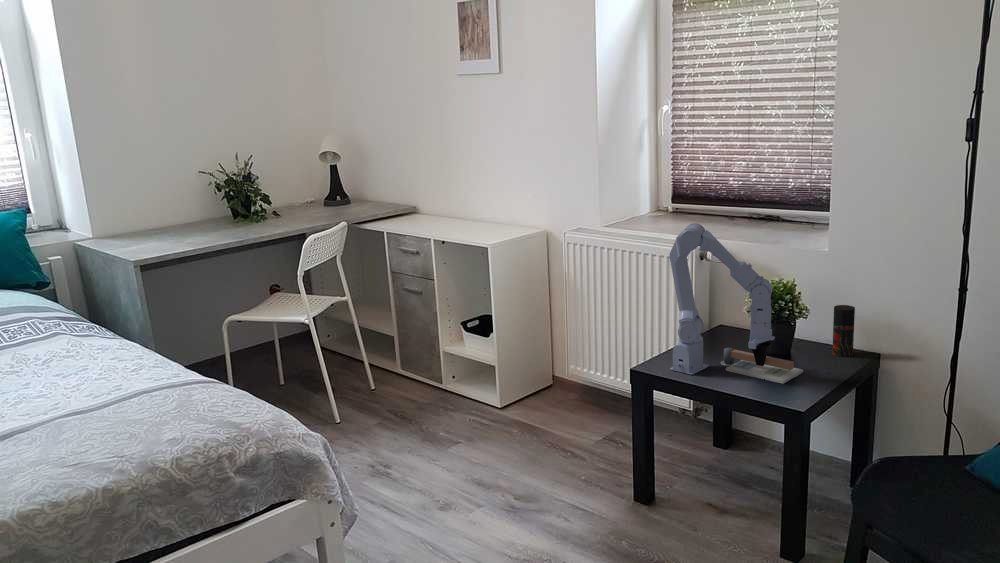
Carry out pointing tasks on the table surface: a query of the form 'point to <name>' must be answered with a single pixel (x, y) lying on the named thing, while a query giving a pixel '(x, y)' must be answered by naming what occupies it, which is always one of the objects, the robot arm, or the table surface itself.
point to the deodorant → (843, 330)
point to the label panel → (762, 371)
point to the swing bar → (775, 362)
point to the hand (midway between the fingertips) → (760, 365)
